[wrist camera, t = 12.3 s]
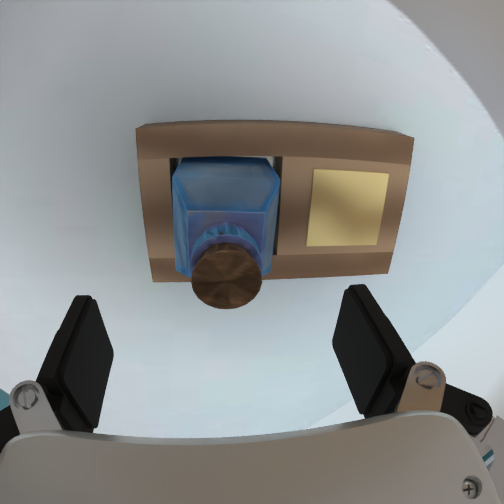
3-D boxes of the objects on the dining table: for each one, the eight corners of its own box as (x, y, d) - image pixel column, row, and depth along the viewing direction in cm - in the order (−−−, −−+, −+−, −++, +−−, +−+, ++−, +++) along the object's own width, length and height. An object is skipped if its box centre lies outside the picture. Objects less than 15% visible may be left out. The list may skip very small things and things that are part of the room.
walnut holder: (145, 123, 21) (134, 129, 19) (395, 131, 23) (415, 138, 20) (158, 263, 27) (152, 283, 24) (374, 256, 29) (388, 274, 26)
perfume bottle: (184, 229, 26) (163, 331, 15) (184, 155, 23) (152, 215, 12) (259, 231, 26) (286, 331, 16) (266, 157, 23) (304, 218, 13)
